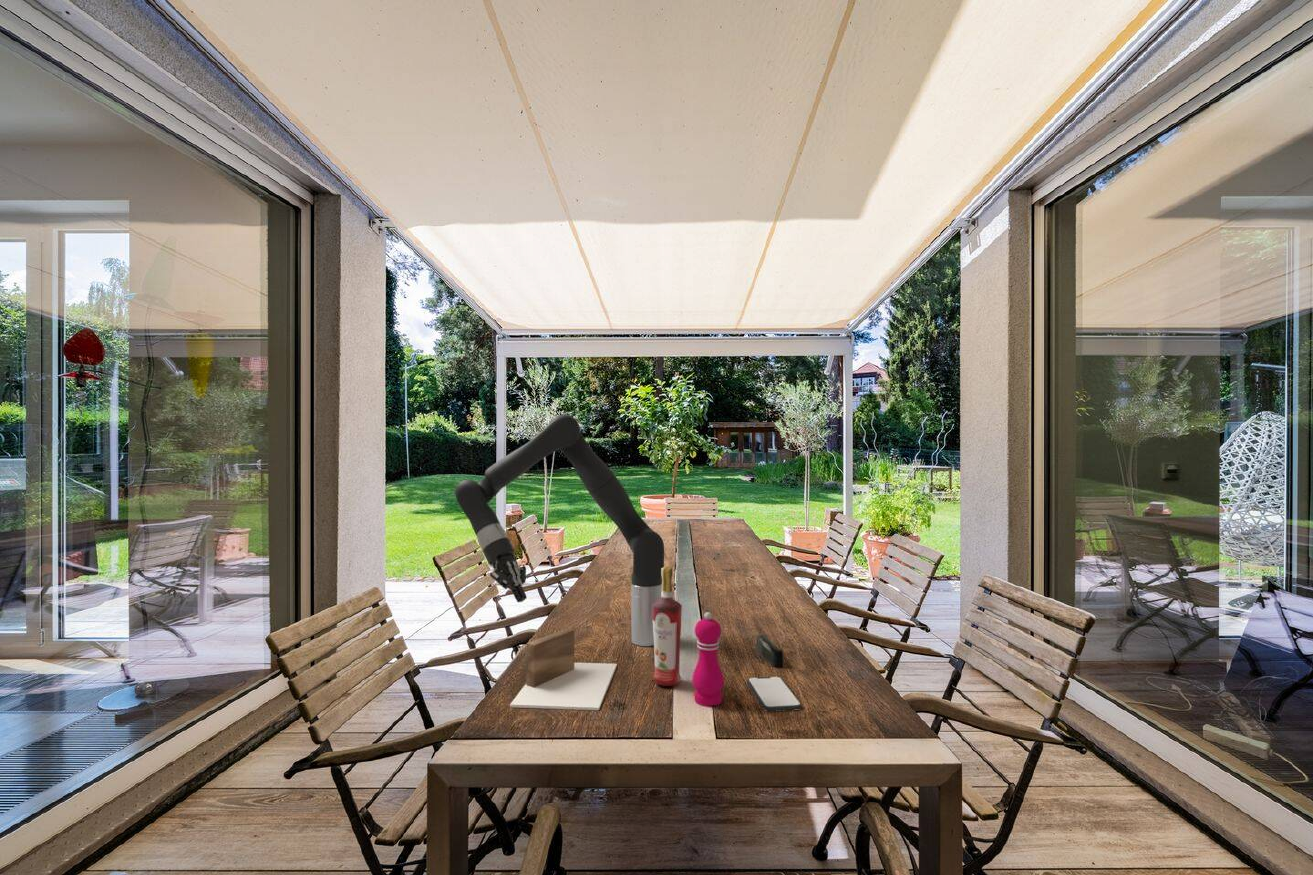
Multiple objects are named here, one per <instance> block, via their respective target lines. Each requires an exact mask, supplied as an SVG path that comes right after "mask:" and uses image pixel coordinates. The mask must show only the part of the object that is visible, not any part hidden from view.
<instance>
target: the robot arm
mask: <svg viewBox="0 0 1313 875" xmlns="http://www.w3.org/2000/svg"><path fill="white" fill-rule="evenodd" d="M559 450H560V452H561V453H562V454H563V455H564V456H565V458H567V460H568V461H569V462H570V464H572V466H573V468H574V470H575V472H576V473H577V475H578V477H579V479H580V481H581V482H582V484H583V486H584V487H585V489H586V490H587V492H588V494H589V495H590V496H591V497H592V499H593V500H594V502H595V503H596V504H597V505H598V507H600V509H601V510H602V511H603V512H604V514H606V515H607V517H608V518H610V520H611V522H613V523H614V525H615V526H617V528H618V530H619V531H620V533H621V534H622V536H623V537H624V539H625V541H626V544H627V545H628V546H629V549H630V550H631V552H632V554H633V555H632V557H633V558H632V559H633V560H632V564H633V565H632V573H631V577H630V579H631V581H630V582H631V589H630V590H631V591H630V592H631V597H630V598H631V600H630V601H631V602H630V603H631V604H630V605H631V608H630V610H631V613H630V614H631V622H630V624H631V627H630V628H631V632H630V634H631V635H630V637H631V643H632V644H634V645H636V646H641V647H654V636H653V615H652V605H653V604H654V603H655V602H656V601H659V600H661V591H662V576H661V568H664V567H665V545H664V544H665V543H664V540H663V538H662V537H661V535H660V534H659V533H658V532H656V531H654V530H653V529H652V528H651V527H650V526H649V525H648V524H647V523H646V522H645V520H643V518H642V517H641V516H640V514H639V513H638V511H637V510H636V508H635V507H634V505H633V503H632V500H631V499H630V497H629V494H628V492H627V491H626V489H625V488H624V486H623V485H622V483H621V482H620V480H619V479H618V478H617V476H616V475H615V473H614V472H613V470H611V469H610V467H609V466H608V465H607V463H605V462H604V461H603V460H602V459H601V458H600V457H599V455H597V454H596V453H595V452H594V451H593V449H592V448H591V447H590V445H589V443H588V441H586V439H585V437H584V436H583V434H582V432H581V427H580V425H579V422H578V421H577V419H575V417H573V416H571V415H568V414H560V415H556V416H555V417H553V418H552V419H551V420H550V421H549V423H548V424H547V425H546V426H545V428H543V429H542V430H541V431H540V432H539V433H538V434H537V435H536V436H534V437H533V438H532V439H531V440H528V442H527V443H525V444H524V445H522V446H519V447H518V448H516V449H515V450H514V451H511V452H510V453H508V454H507V455H505V456H504V457H502V458H501V459H499V460H498V461H496V462H495V463H494V464H492V465H491V466H488V467H487V469H486V470H485V472H484V477H483V478H482V479H480V480H479V482H477V481H475V480H473V479H463V480H462V481H460V482H458V484H457V485H456V487H455V490H454V494H455V498H456V502H457V503H458V505H459V506H460V508H461V510H462V512H463V513H464V514H465V516H466V518H468V521H469V522H470V525H471V528H472V530H473V531H474V534H475V536H476V539H477V542H478V546H480V549H481V551H482V553H483V555H484V557H485V559H486V562H487V564H488V565H489V566H491V567H492V568H493V571H492V572H490V573H489V576H490V577H491V579H493V580H494V581H495V582H496V583H498V584H499V586H501V587H502V588H503V589H504V590H509V591H511V593H512V595H513V597H514V599H515V600H516V602H517V603H522V602H524V601H525V600H526V599H527V594H526V592H525V589H524V588H523V585H524V584H525V583H526V577H527V567H526V566H525V565H523V566H521V565H519V562H518V561H517V560H516V559H515V558H514V556H515V552H516V551H515V548H514V546H513V544H512V542H511V540H510V539H509V536H508V534H507V532H506V530H505V529H504V527H503V526H502V524H501V522H500V520H499V519H498V516H497V514H496V513H495V511H494V510H493V509H492V508H491V507H490V506H489V503H490V501H492V500H493V499H494V498H495V497H496V495H497V494H498V493H499V492H500V491H501V490H502V489H503V488H505V487H506V486H508V485H509V484H511V483H512V482H513V481H515V480H517V479H518V478H519V477H521V476H522V475H523V474H524V473H525V472H528V471H529V469H531V468H532V467H533V466H535V465H537V463H539V462H540V461H542V460H543V459H545V458H546V457H548V456H549V455H552V454H553V453H555V452H557V451H559Z"/></svg>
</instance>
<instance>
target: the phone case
mask: <svg viewBox="0 0 1313 875" xmlns="http://www.w3.org/2000/svg"><path fill="white" fill-rule="evenodd" d="M746 684H747V686H748V688H749V689H750V691H751V692H752V694H753V693H754V694H753V695H755V696H754V697H755V698H757V699H756V700H757V702H758V704H761V705H762V706H761V705H760V706H761V707H763V708H764V709H765V710H767V711H766V712H768V711H776V710H777V711H776V712H779V711H778V710H794V709H800V708H803V706H802V705H803V704H802V703H801V702H800V700H799V699H798V698H797V697H796V695H795V693H794V692H793V691H792V689H791V688H790V687H788V685H787V684H786V682H785V681H784V680H783V679H782V678H781V677H779V676H760V677H757V676H756V677H748V678H747V680H746ZM763 708H762V709H763ZM764 709H763V710H764ZM765 710H764V711H765ZM794 711H795V710H794Z"/></svg>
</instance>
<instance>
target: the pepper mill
mask: <svg viewBox="0 0 1313 875" xmlns="http://www.w3.org/2000/svg"><path fill="white" fill-rule="evenodd" d="M712 617H713V616H712V613H711V612H707V611H706V612H705V613H704V615H703V618H701V619H700V620H699V621H697V622H696V624H695V627H694V635H695V636H696V638H697V640H696V643H697V644H696V647H697V648H698V660H697V663H696V666H695V668H694V671H693V674H692V685H693V687H694V688H695V691H694V701H695V703H696V704H698V705H701V706H704V707H714V706H713V705H716V706H718V705H720V704H722V702H723V693H722V691H721V690H722V689H723V687H724V685H725V678H724V674H723V672H722V669H721V665H720V664H719V659H718V649H719V648H720V641H719V638H720V637H721V634H722V629H721V625H720V623H719V622H718V621H717V620H716V619H713V618H712ZM717 704H718V705H717Z"/></svg>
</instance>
